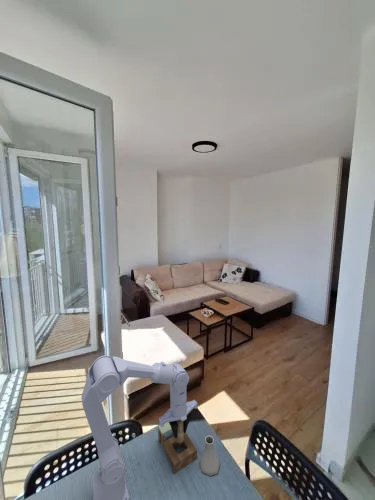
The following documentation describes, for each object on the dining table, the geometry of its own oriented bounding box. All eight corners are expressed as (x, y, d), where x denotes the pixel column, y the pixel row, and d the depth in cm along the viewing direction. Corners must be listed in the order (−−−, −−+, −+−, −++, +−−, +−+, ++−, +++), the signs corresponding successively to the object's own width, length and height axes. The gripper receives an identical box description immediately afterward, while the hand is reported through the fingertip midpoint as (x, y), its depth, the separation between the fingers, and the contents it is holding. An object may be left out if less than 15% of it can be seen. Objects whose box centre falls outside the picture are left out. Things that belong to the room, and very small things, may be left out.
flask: (219, 454, 80) (219, 430, 79) (220, 477, 73) (220, 451, 72) (199, 453, 81) (199, 428, 80) (198, 475, 74) (198, 449, 73)
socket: (174, 473, 75) (174, 464, 74) (163, 450, 82) (163, 442, 82) (197, 458, 79) (197, 449, 79) (184, 437, 87) (184, 429, 86)
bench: (162, 449, 83) (162, 434, 82) (158, 440, 86) (157, 425, 85) (183, 436, 87) (183, 422, 86) (178, 428, 91) (178, 414, 90)
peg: (173, 438, 80) (173, 418, 79) (180, 433, 82) (180, 414, 81) (178, 445, 78) (177, 425, 77) (185, 440, 80) (184, 420, 78)
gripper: (164, 417, 71) (166, 454, 72) (202, 397, 78) (202, 431, 80) (155, 402, 77) (157, 436, 78) (191, 385, 84) (192, 417, 86)
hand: (179, 433), depth 80 cm, fingers closed on peg, 3 cm apart
